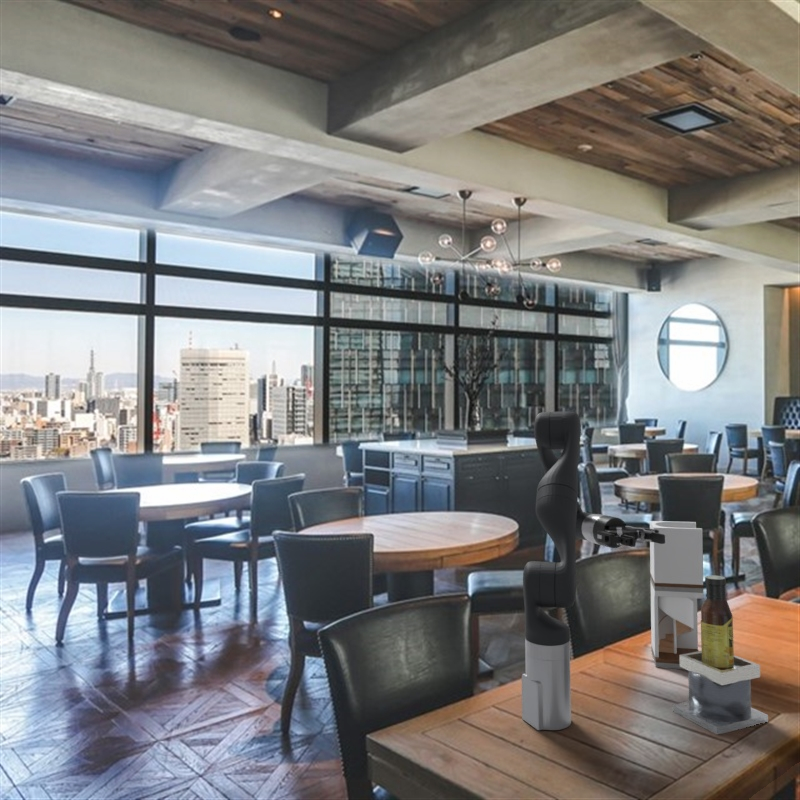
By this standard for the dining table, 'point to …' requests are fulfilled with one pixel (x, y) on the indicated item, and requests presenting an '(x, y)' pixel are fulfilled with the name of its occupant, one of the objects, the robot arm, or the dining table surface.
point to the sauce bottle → (716, 625)
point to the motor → (720, 695)
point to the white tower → (675, 591)
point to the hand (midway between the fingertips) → (649, 540)
